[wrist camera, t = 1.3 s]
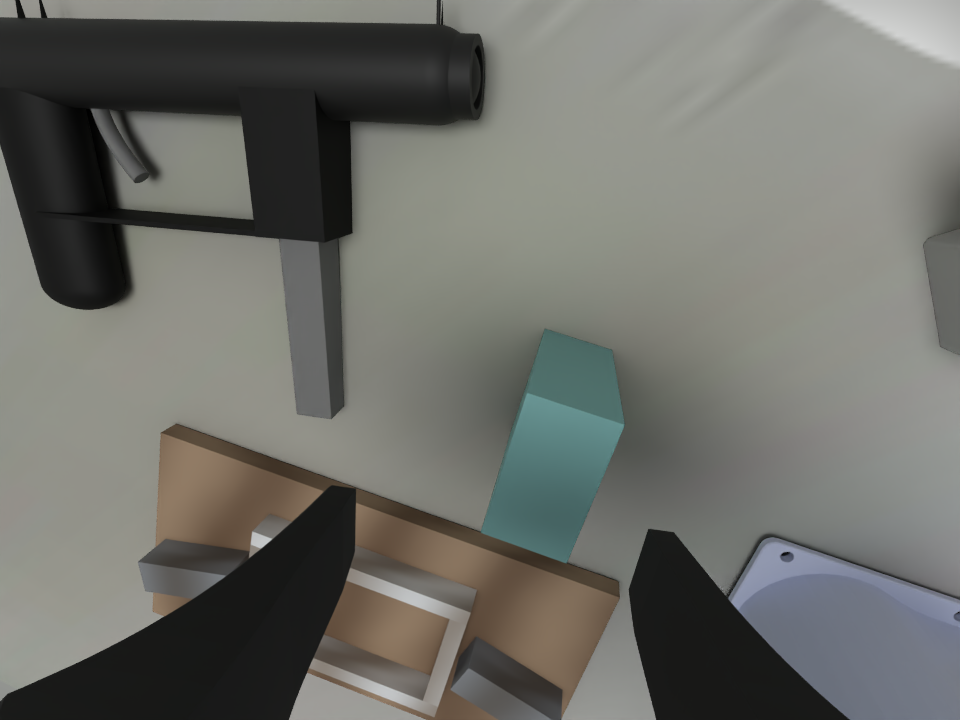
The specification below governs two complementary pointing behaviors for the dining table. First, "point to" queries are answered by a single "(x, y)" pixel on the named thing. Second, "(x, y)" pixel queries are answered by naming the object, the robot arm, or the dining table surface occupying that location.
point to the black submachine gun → (267, 135)
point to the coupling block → (557, 447)
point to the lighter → (945, 286)
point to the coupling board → (388, 588)
